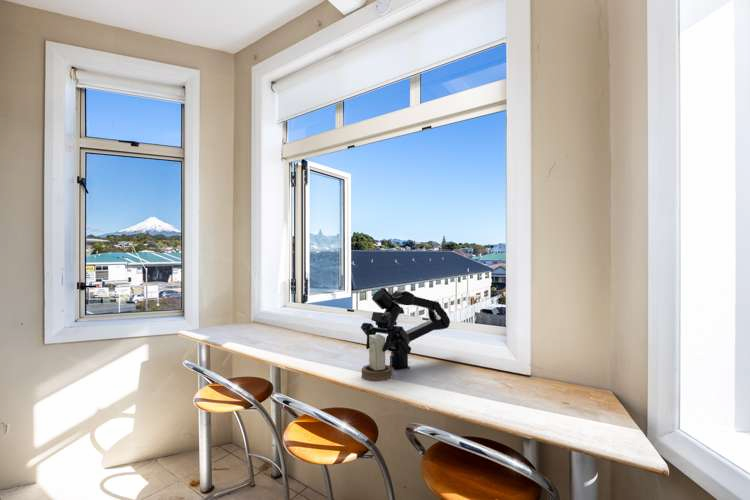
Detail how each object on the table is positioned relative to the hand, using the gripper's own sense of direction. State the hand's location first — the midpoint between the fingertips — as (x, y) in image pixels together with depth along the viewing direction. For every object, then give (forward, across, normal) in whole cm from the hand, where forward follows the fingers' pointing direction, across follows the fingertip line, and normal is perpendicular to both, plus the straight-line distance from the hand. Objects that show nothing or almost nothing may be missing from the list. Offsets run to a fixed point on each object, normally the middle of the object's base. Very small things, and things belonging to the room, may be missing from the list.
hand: (375, 349), depth 138 cm
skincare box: (+4, 0, +6) cm, 7 cm away
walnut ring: (+6, 0, +8) cm, 10 cm away
